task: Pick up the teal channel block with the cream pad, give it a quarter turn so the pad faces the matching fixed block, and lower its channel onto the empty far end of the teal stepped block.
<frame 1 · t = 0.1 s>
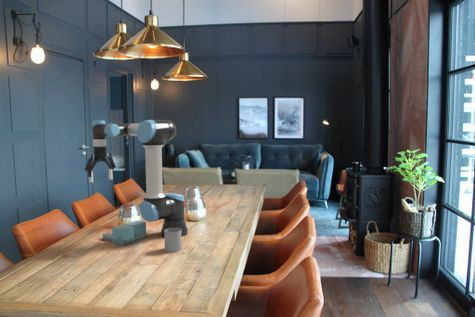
hand: (101, 180, 245), 28 cm above the table, fingers open, 13 cm apart
teal stepped block: (116, 241, 215), on the table
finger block: (135, 236, 223), on the table
cup: (173, 249, 200), on the table
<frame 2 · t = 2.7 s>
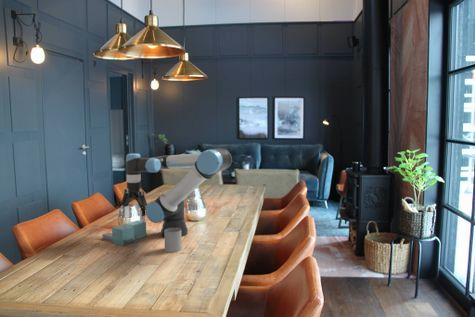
hand: (134, 219, 222), 10 cm above the table, fingers open, 13 cm apart
nothing on the table moved.
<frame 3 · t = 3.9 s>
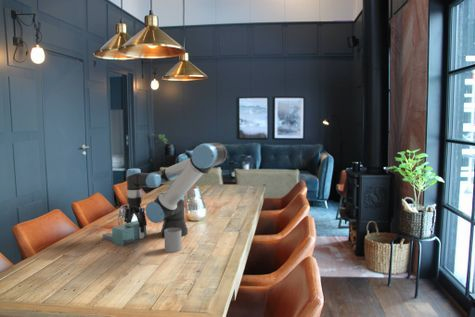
hand: (135, 236, 223), 0 cm above the table, fingers open, 9 cm apart
nothing on the table moved.
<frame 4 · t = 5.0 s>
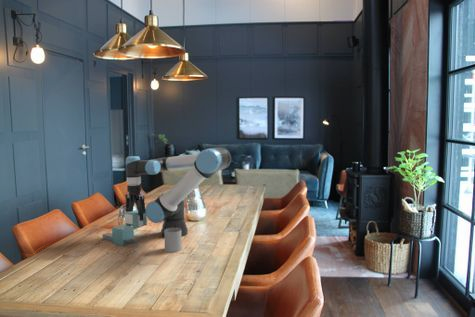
hand: (136, 225, 222), 7 cm above the table, fingers closed on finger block, 7 cm apart
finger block: (136, 226, 222), point 6 cm above the table, touching gripper
everything else where it was.
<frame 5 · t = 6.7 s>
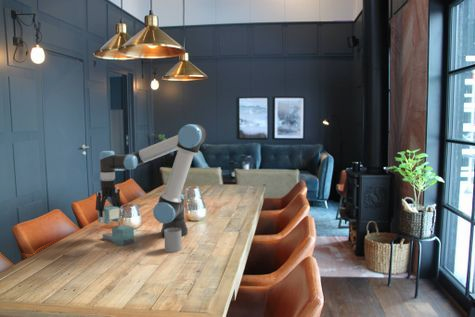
hand: (108, 221, 218), 10 cm above the table, fingers closed on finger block, 7 cm apart
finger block: (108, 221, 218), point 10 cm above the table, touching gripper
everything else where it was.
when the fingers open (1 cm above the table, at t = 8.4 s): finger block stays where it is, resting on teal stepped block.
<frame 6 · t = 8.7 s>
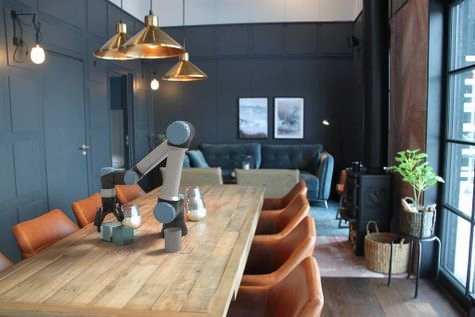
hand: (110, 235, 218), 2 cm above the table, fingers open, 11 cm apart
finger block: (110, 238, 219), resting on teal stepped block
everything else where it was.
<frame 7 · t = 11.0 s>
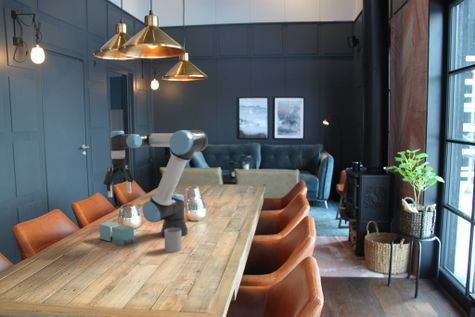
hand: (120, 194, 229), 22 cm above the table, fingers open, 13 cm apart
nothing on the table moved.
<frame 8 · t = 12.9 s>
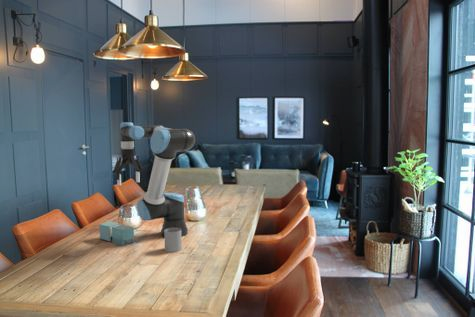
hand: (128, 183, 240), 27 cm above the table, fingers open, 13 cm apart
nothing on the table moved.
at the end: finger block 0.2 cm from the target spot on the teal stepped block, point 0.5 cm above the teal stepped block's base; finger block tilted 0°; the gripper is holding nothing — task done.
